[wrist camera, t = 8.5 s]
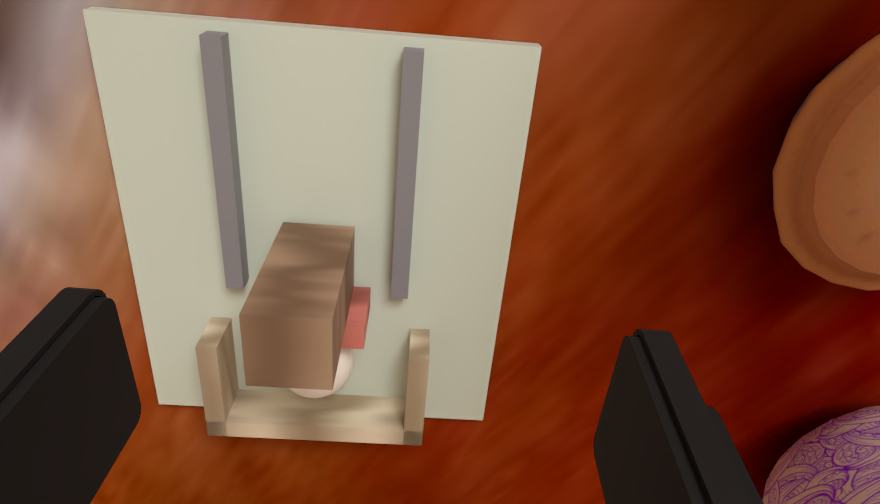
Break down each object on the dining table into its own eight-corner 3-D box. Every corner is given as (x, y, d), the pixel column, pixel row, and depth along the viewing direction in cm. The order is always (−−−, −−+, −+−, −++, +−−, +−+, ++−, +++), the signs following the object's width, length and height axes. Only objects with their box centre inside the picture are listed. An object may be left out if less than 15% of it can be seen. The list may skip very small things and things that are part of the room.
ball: (347, 393, 33) (352, 405, 38) (355, 314, 35) (358, 334, 39) (265, 388, 33) (279, 401, 37) (276, 310, 35) (288, 330, 39)
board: (538, 43, 31) (545, 52, 29) (481, 409, 43) (484, 433, 41) (92, 6, 30) (69, 13, 28) (164, 393, 42) (151, 416, 40)
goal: (429, 329, 38) (429, 360, 35) (422, 411, 42) (421, 445, 39) (211, 316, 37) (195, 347, 35) (222, 401, 41) (207, 435, 38)
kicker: (372, 227, 34) (355, 321, 26) (370, 307, 37) (353, 415, 29) (264, 220, 34) (215, 313, 26) (270, 302, 37) (226, 408, 29)
